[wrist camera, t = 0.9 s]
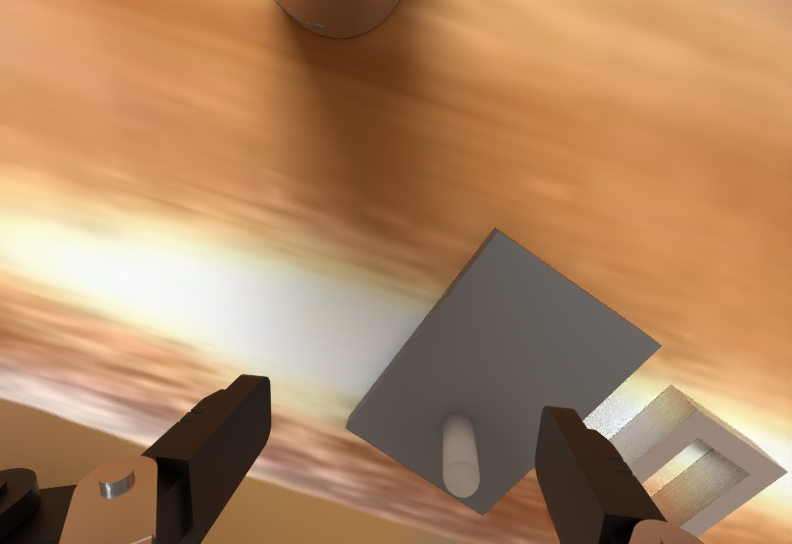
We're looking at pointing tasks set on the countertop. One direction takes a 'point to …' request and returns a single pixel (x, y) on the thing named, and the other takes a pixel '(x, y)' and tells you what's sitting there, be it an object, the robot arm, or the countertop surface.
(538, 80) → the countertop surface
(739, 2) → the countertop surface
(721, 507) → the steel link
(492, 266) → the board
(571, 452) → the robot arm
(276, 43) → the countertop surface
